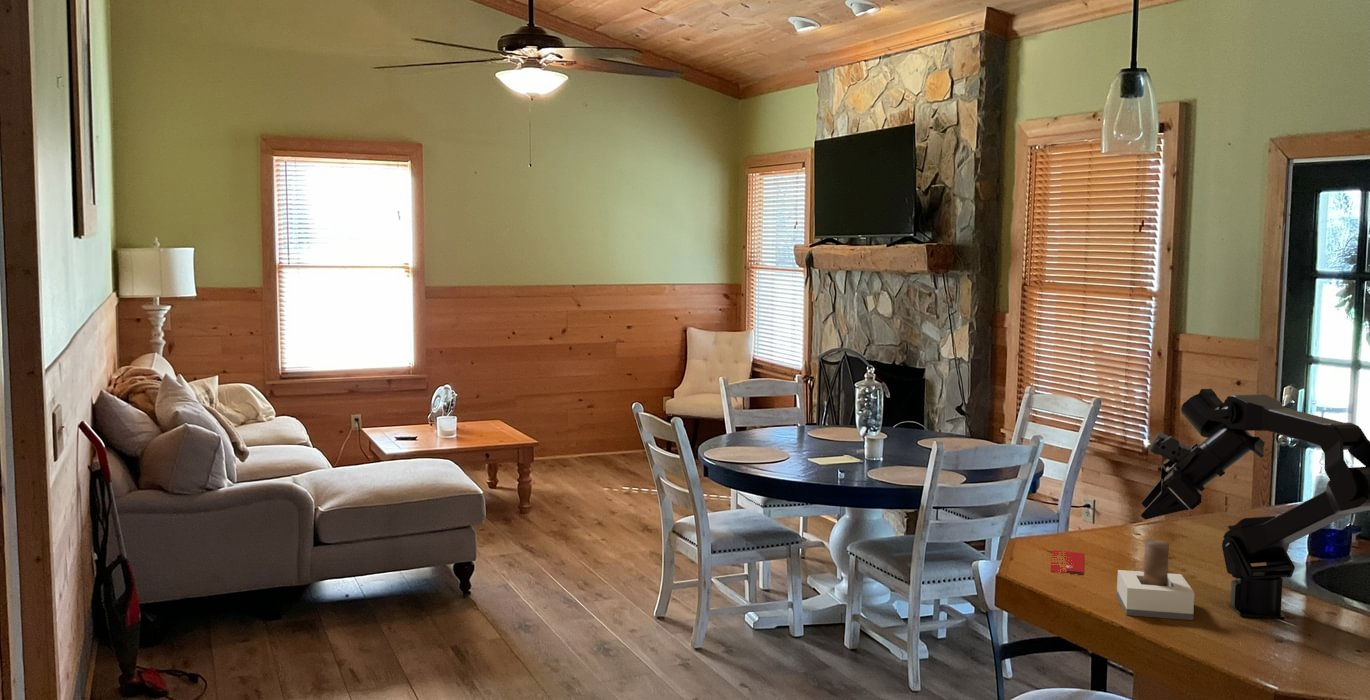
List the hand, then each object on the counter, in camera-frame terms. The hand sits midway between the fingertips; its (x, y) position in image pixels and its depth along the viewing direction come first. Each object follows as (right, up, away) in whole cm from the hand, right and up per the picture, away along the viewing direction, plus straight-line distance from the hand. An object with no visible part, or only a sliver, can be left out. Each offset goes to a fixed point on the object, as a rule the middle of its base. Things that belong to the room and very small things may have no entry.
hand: (1142, 511), depth 187 cm
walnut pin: (-2, -14, -9) cm, 17 cm away
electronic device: (-7, -13, +16) cm, 22 cm away
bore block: (-2, -15, -9) cm, 17 cm away
